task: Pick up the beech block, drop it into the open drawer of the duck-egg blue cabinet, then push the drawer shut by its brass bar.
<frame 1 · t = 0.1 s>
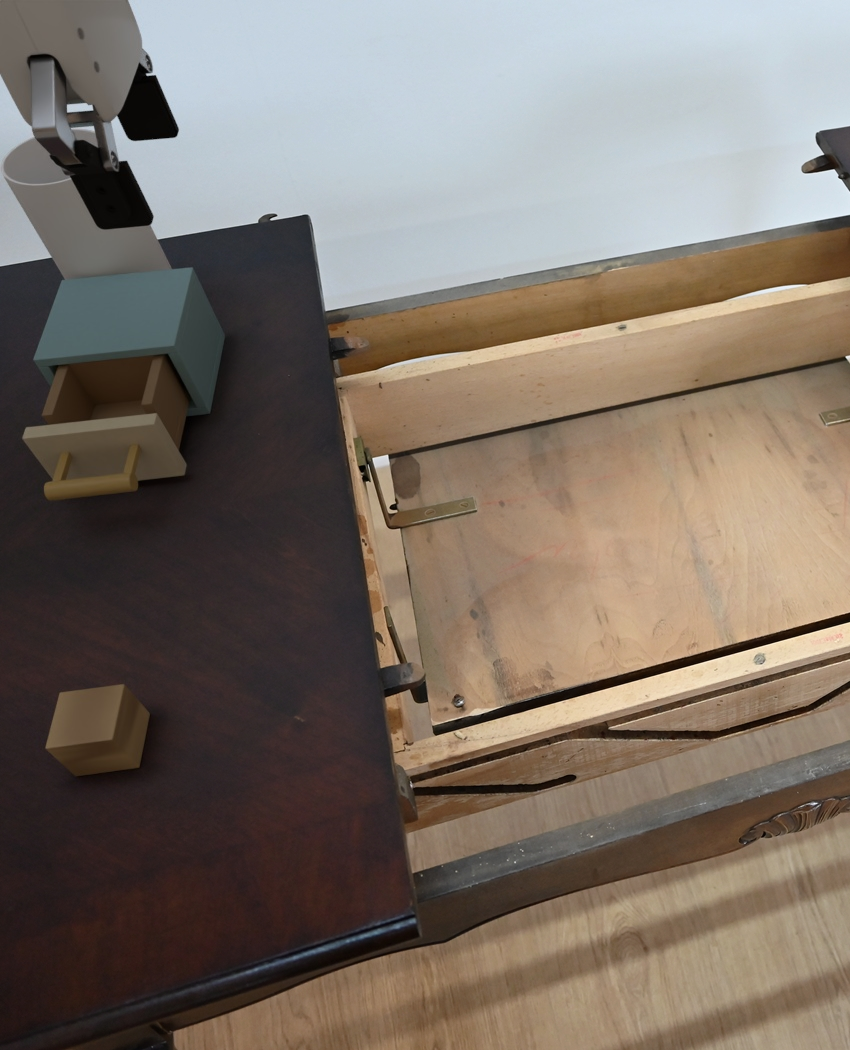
hand: (141, 179, 65), 25 cm above the table, tool pointing down, fingers open, 9 cm apart
cup: (141, 314, 95), on the table
cabinet: (155, 380, 89), on the table
drawer: (111, 436, 80), point 4 cm above the table, slide at 6.5 cm
block: (113, 744, 68), on the table
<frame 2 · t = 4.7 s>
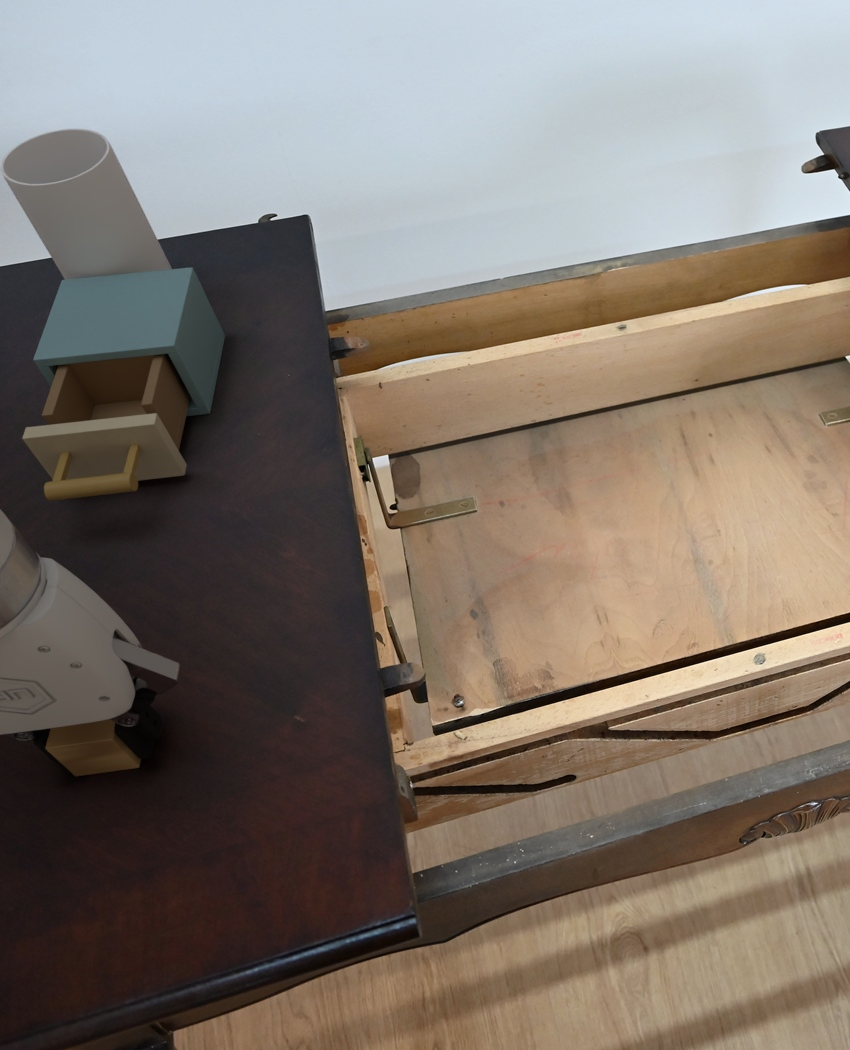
hand: (111, 742, 68), 0 cm above the table, tool pointing down, fingers closed on block, 4 cm apart
block: (113, 744, 68), on the table, touching gripper
everything else where it was.
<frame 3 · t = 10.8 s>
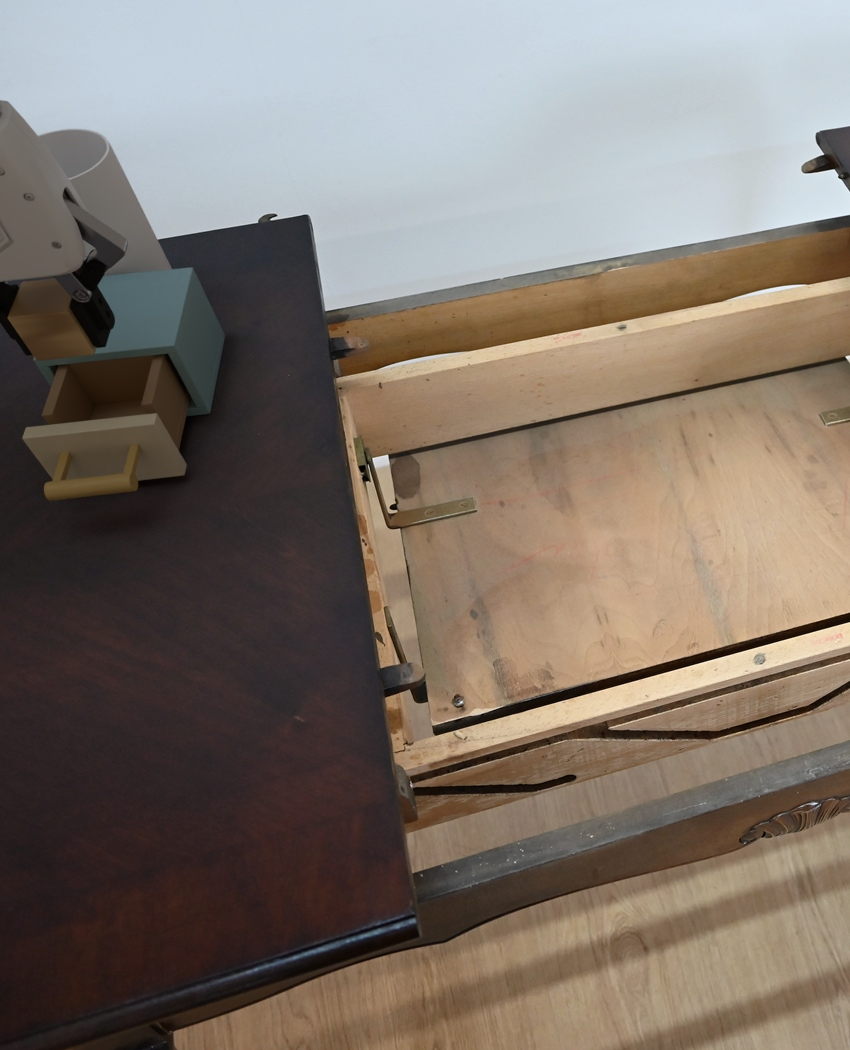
hand: (70, 336, 75), 12 cm above the table, tool pointing down, fingers closed on block, 4 cm apart
block: (71, 339, 75), point 12 cm above the table, touching gripper
everything else where it was.
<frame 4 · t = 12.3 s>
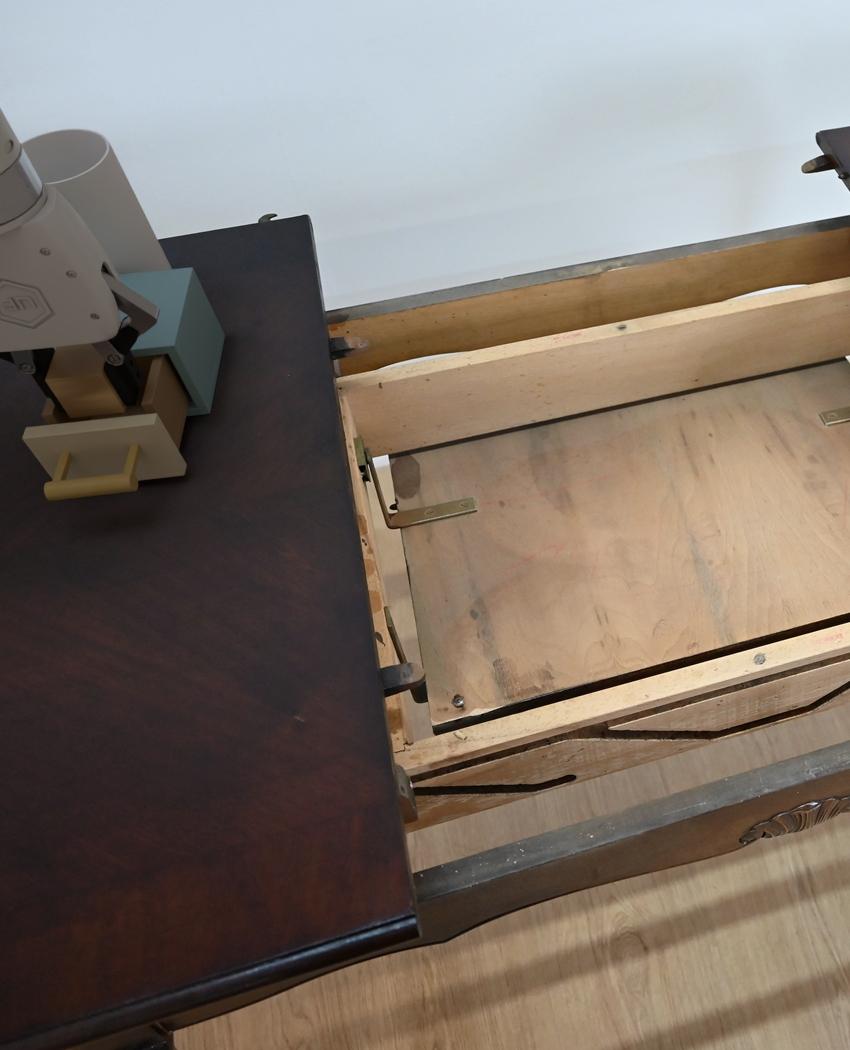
hand: (101, 394, 79), 6 cm above the table, tool pointing down, fingers closed on block, 4 cm apart
block: (103, 397, 80), point 6 cm above the table, touching gripper
everything else where it was.
when the fingers open (7 cm above the table, at t = 16.8 s): block drops 5 cm, resting on drawer.
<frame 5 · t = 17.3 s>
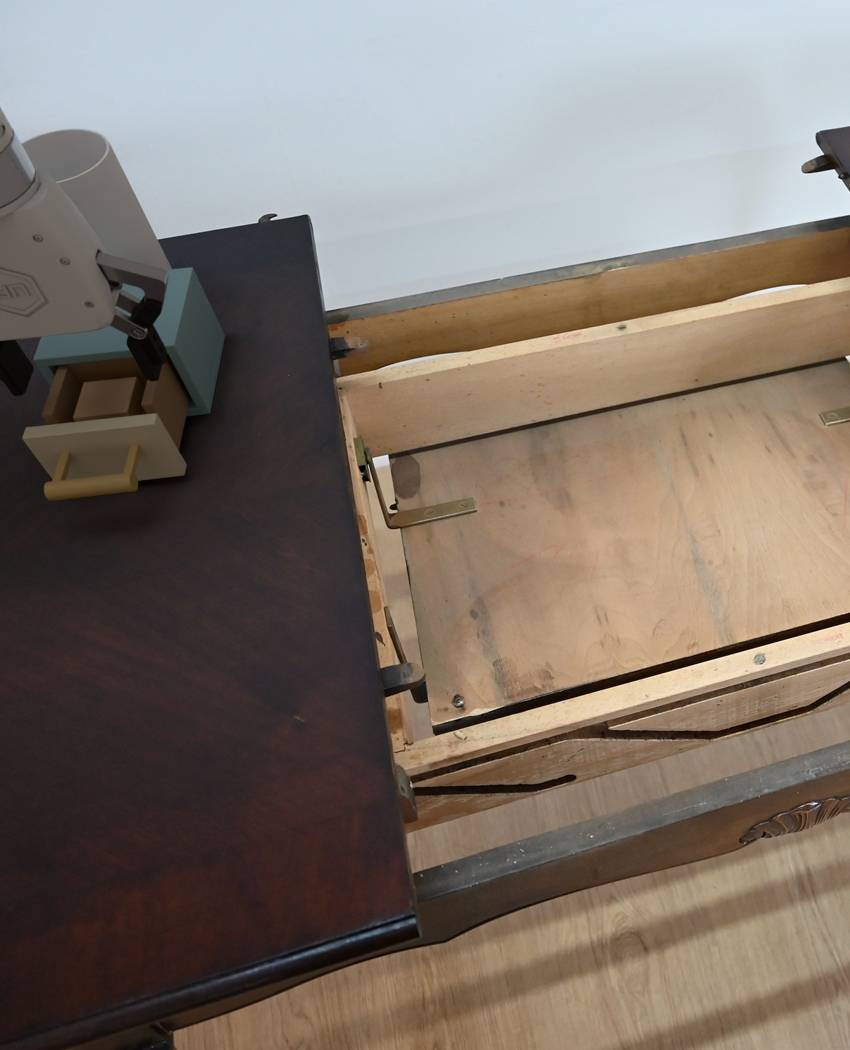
hand: (91, 375, 78), 8 cm above the table, tool pointing down, fingers open, 9 cm apart
drawer: (111, 436, 80), point 4 cm above the table, slide at 6.5 cm, touching block
block: (127, 432, 83), point 2 cm above the table, touching drawer
everything else where it was.
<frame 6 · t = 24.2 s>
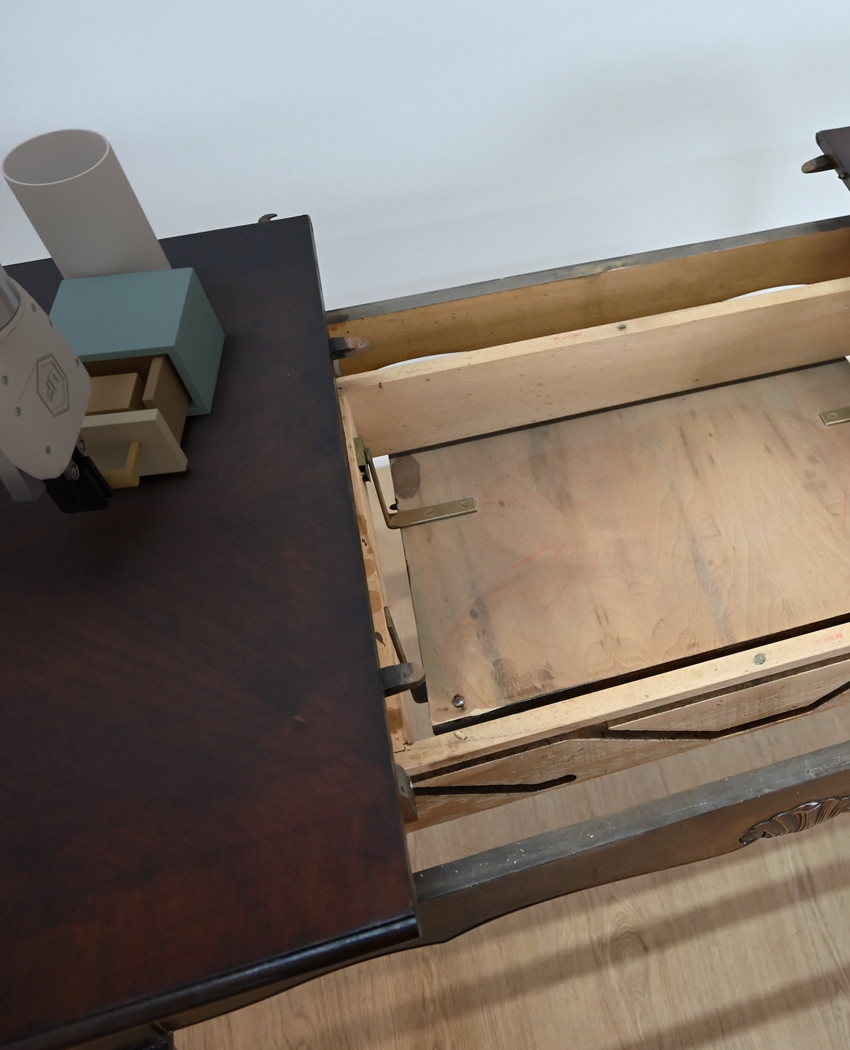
hand: (89, 502, 75), 4 cm above the table, tool pointing down, fingers closed
drawer: (113, 431, 80), point 4 cm above the table, slide at 6.0 cm, touching block, gripper
everything else where it was.
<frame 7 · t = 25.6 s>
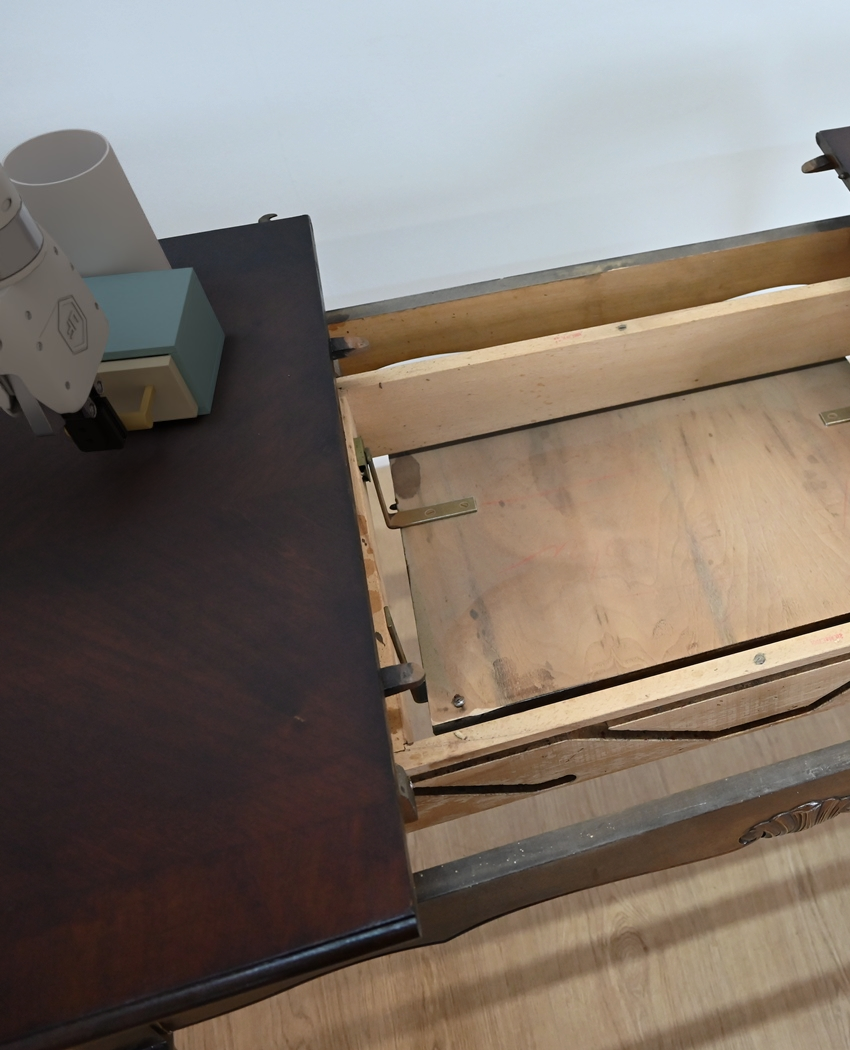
hand: (105, 442, 79), 4 cm above the table, tool pointing down, fingers closed
drawer: (127, 378, 84), point 4 cm above the table, slide at 0.0 cm, touching block, cabinet, gripper
block: (142, 377, 87), point 2 cm above the table, touching drawer
everything else where it was.
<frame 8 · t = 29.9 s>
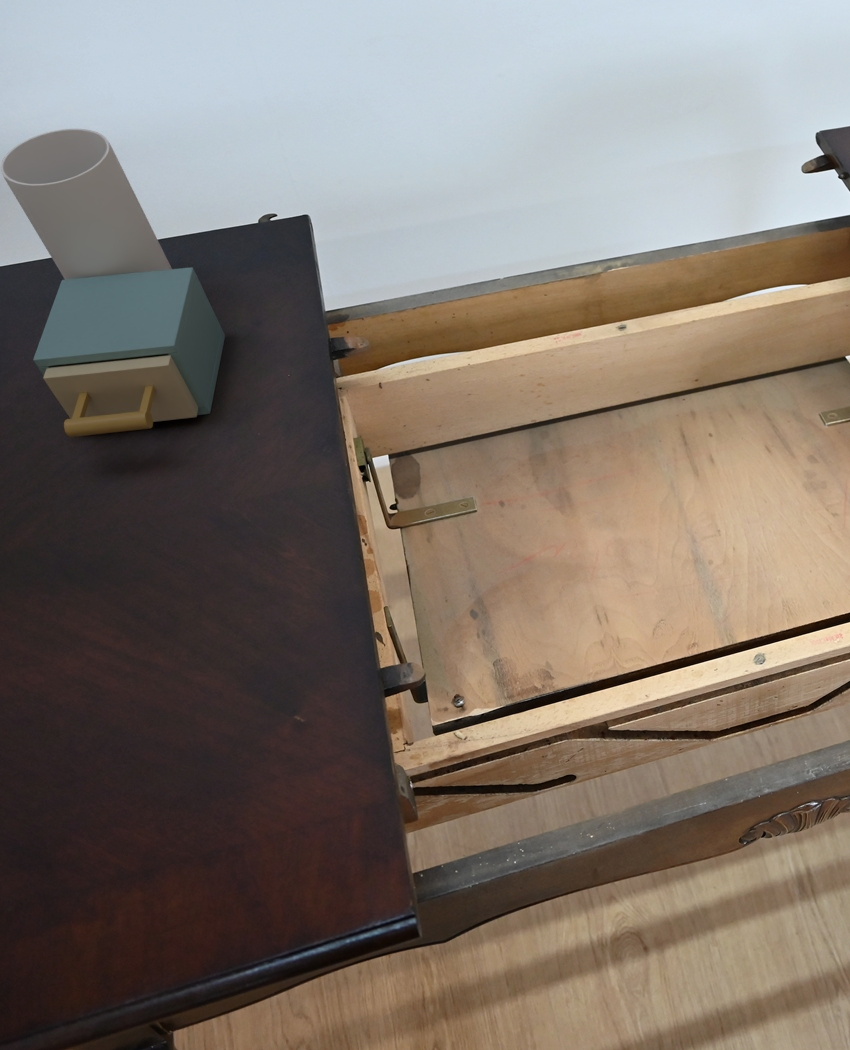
drawer: (127, 378, 84), point 4 cm above the table, slide at 0.0 cm, touching block, cabinet
everything else where it was.
at the end: block inside the target area in the cabinet (1.8 cm from its centre), point 2.0 cm above the cabinet's base; drawer slide at 0.0 cm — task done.
